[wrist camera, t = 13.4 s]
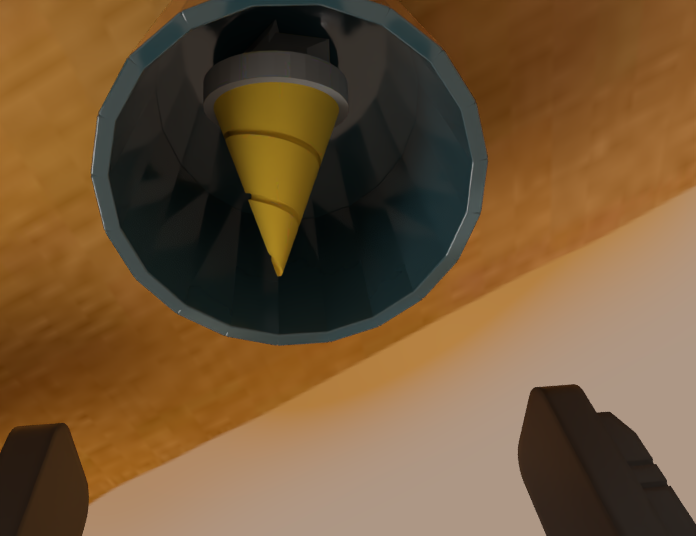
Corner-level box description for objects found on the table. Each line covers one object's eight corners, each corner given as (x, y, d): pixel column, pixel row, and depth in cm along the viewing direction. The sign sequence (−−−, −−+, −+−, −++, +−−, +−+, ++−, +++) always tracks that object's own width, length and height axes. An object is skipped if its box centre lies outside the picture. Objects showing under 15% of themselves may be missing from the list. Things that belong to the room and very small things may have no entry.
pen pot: (170, 227, 29) (134, 355, 21) (121, -53, 22) (43, -12, 15) (417, 215, 30) (465, 334, 22) (435, -56, 23) (512, -19, 16)
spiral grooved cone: (369, 31, 25) (380, 277, 23) (261, 66, 27) (263, 291, 25) (294, -47, 20) (301, 254, 18) (173, 5, 23) (168, 274, 21)
